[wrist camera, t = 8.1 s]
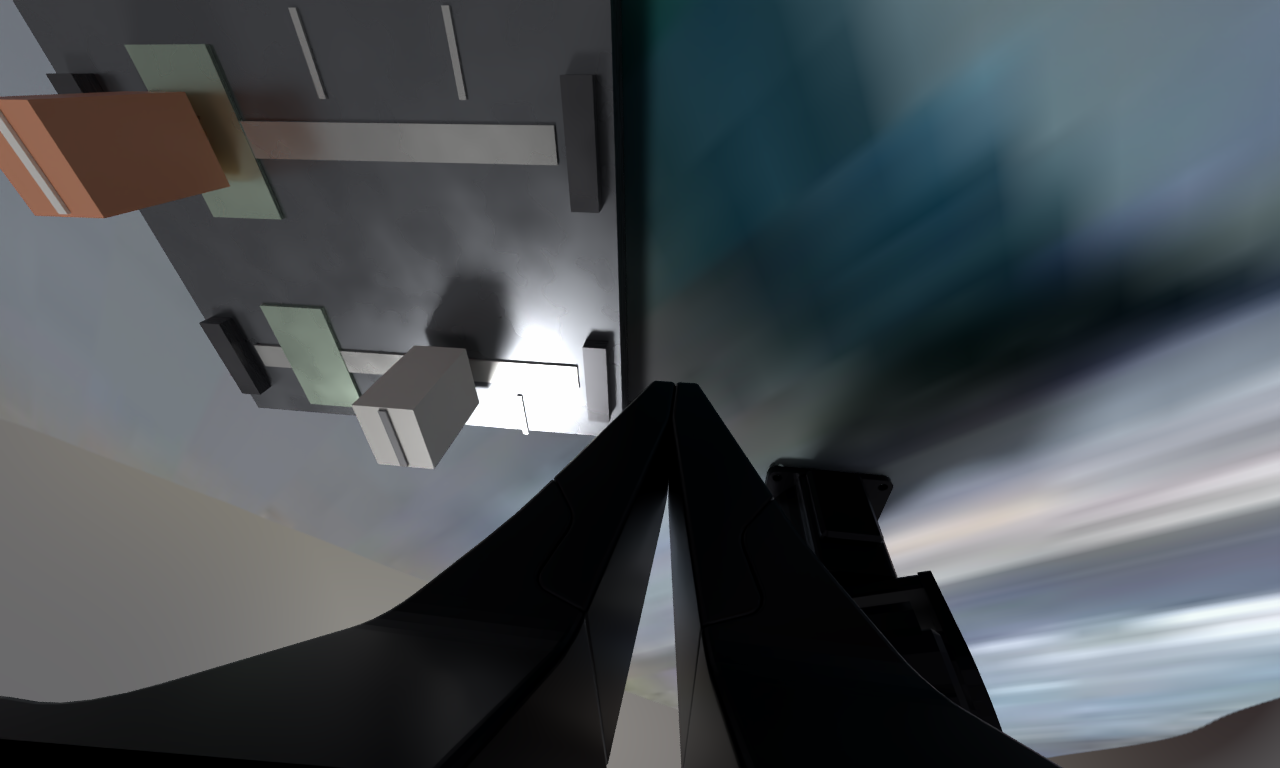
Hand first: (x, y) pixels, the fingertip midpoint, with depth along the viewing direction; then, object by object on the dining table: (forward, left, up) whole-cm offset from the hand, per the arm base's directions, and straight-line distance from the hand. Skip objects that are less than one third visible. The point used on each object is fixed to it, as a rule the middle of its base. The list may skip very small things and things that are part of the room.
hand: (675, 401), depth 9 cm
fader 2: (-6, +11, -9) cm, 16 cm away
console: (-1, +13, -12) cm, 18 cm away
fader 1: (+3, +19, -9) cm, 21 cm away
